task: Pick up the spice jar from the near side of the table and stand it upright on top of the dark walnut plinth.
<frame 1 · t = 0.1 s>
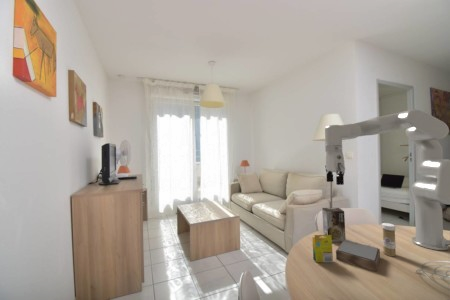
hand: (334, 183, 100), 31 cm above the table, tool pointing down, fingers open, 9 cm apart
coffee box: (334, 239, 105), on the table
spice jar: (389, 254, 89), on the table
crayon box: (322, 261, 85), on the table
walnut plinth: (358, 258, 86), on the table
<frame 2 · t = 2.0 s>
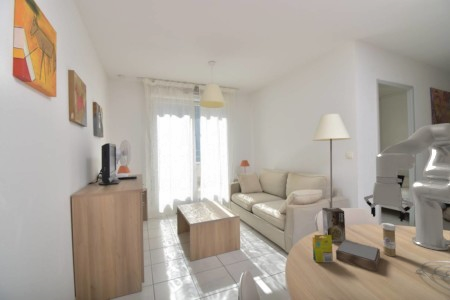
hand: (387, 218, 89), 16 cm above the table, tool pointing down, fingers open, 9 cm apart
nothing on the table moved.
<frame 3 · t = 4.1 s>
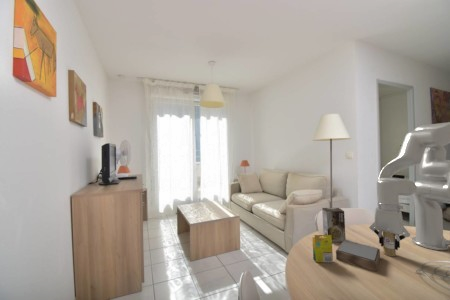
hand: (389, 246, 89), 3 cm above the table, tool pointing down, fingers closed on spice jar, 4 cm apart
spice jar: (389, 254, 89), on the table, touching gripper
everything else where it was.
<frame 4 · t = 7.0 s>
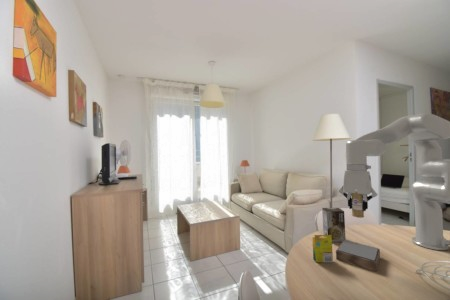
hand: (357, 208, 87), 22 cm above the table, tool pointing down, fingers closed on spice jar, 4 cm apart
spice jar: (358, 216, 87), point 18 cm above the table, touching gripper
everything else where it was.
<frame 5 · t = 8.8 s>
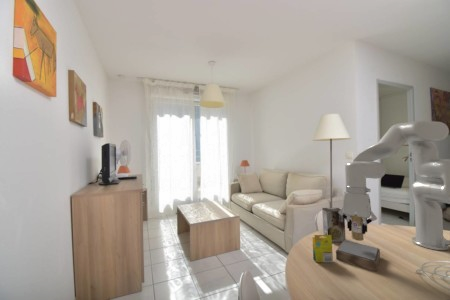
hand: (357, 231, 87), 12 cm above the table, tool pointing down, fingers closed on spice jar, 4 cm apart
spice jar: (357, 239, 86), point 8 cm above the table, touching gripper
everything else where it was.
when the fingers open (9 cm above the table, at t = 10.2 s): spice jar drops 1 cm, resting on walnut plinth.
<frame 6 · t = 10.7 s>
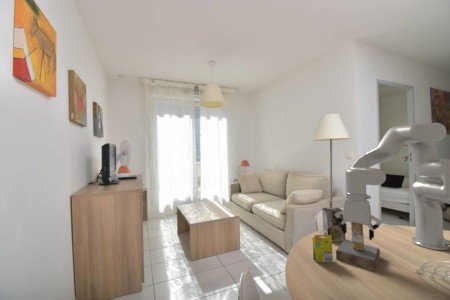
hand: (357, 235, 86), 10 cm above the table, tool pointing down, fingers open, 9 cm apart
spice jar: (358, 249, 86), point 4 cm above the table, touching walnut plinth
everything else where it was.
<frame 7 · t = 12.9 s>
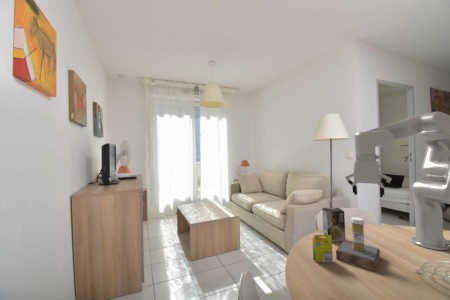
hand: (368, 195, 90), 27 cm above the table, tool pointing down, fingers open, 9 cm apart
nothing on the table moved.
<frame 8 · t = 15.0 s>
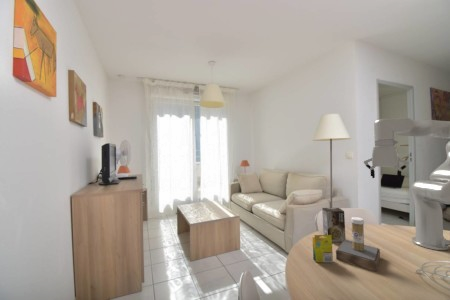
hand: (385, 178, 97), 33 cm above the table, tool pointing down, fingers open, 9 cm apart
nothing on the table moved.
at the end: spice jar inside the target area on the walnut plinth (0.2 cm from its centre), point 3.8 cm above the walnut plinth's base; spice jar tilted 0°; the gripper is holding nothing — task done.
